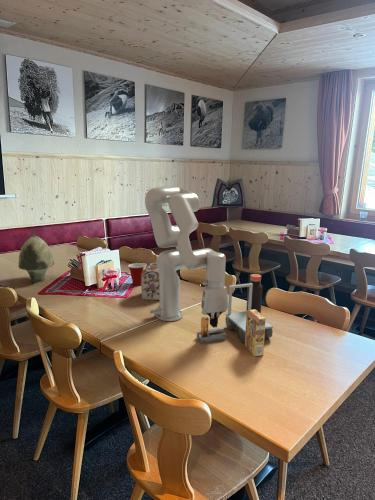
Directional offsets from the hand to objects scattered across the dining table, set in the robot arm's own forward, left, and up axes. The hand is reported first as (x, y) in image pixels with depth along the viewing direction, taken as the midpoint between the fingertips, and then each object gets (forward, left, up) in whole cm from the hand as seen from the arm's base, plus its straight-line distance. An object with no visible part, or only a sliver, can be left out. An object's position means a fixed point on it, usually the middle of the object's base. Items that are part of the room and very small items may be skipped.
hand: (213, 326), depth 151 cm
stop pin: (-1, 0, -4) cm, 4 cm away
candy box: (+11, -14, -6) cm, 19 cm away
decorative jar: (-10, +54, -6) cm, 55 cm away
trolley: (+16, 0, -6) cm, 17 cm away
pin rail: (-1, 0, -6) cm, 6 cm away
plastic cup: (-14, +76, -6) cm, 77 cm away
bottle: (+28, +15, -6) cm, 32 cm away
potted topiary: (-69, +101, -6) cm, 123 cm away
